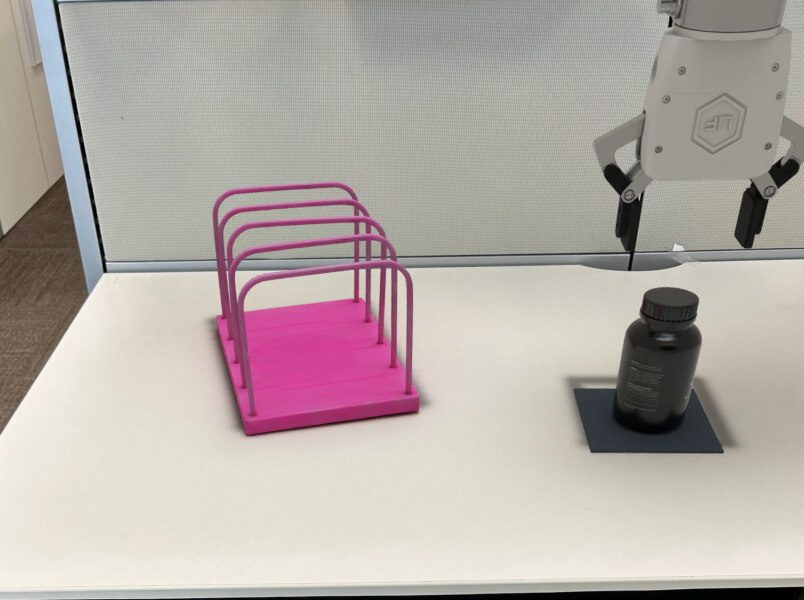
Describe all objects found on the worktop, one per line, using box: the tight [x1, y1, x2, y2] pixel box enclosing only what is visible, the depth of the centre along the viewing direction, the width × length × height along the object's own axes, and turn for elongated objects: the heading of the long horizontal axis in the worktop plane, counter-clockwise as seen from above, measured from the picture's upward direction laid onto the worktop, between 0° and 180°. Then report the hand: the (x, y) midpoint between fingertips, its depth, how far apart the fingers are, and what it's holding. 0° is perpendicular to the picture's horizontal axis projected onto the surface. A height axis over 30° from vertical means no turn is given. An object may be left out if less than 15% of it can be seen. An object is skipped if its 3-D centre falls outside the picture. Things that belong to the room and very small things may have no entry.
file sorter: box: [212, 181, 421, 435], centre depth 94 cm, size 17×25×16 cm
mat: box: [573, 387, 725, 454], centre depth 89 cm, size 12×12×1 cm
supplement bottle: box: [612, 286, 703, 433], centre depth 86 cm, size 7×7×12 cm
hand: (684, 244), depth 79 cm, fingers open, 9 cm apart
